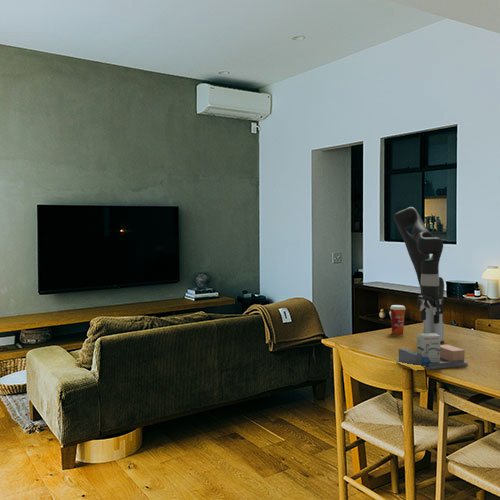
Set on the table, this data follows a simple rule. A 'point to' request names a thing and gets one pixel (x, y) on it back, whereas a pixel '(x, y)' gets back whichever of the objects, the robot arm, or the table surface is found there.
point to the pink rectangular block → (451, 353)
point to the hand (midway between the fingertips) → (429, 321)
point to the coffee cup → (397, 318)
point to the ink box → (429, 347)
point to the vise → (416, 359)
